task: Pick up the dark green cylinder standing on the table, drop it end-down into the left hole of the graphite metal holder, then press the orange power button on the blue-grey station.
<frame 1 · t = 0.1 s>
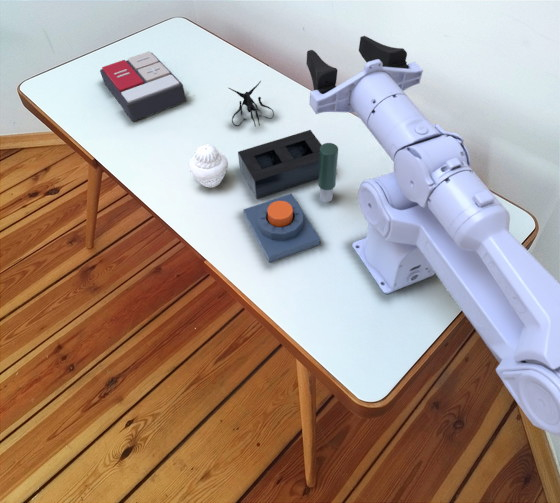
hand: (335, 49, 67), 22 cm above the table, tool horizontal, fingers open, 7 cm apart
station: (280, 229, 77), on the table
creature: (252, 117, 94), on the table
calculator: (144, 93, 99), on the table
green cylinder: (326, 198, 81), on the table
power button: (280, 213, 74), point 4 cm above the table, slide at 0.1 cm
white rounded ridged piece: (211, 181, 84), on the table
holder: (284, 172, 84), on the table
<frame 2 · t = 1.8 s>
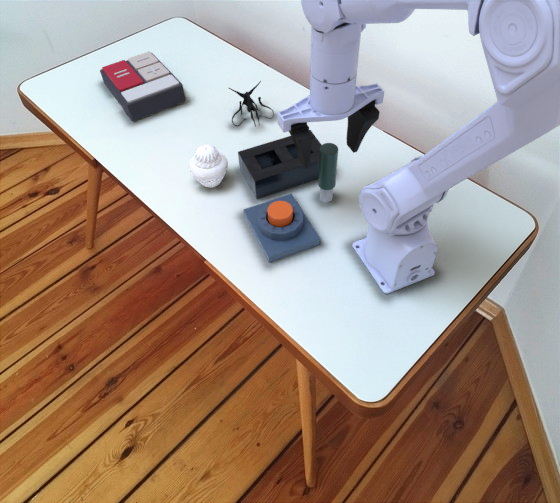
hand: (328, 155, 74), 9 cm above the table, tool pointing down, fingers open, 7 cm apart
nothing on the table moved.
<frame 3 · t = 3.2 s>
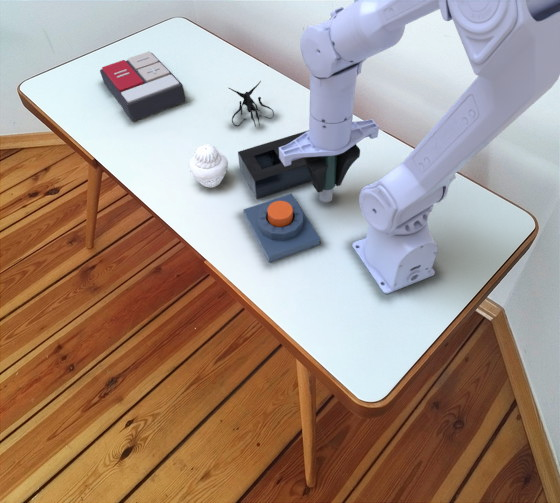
hand: (326, 184, 78), 3 cm above the table, tool pointing down, fingers closed on green cylinder, 2 cm apart
green cylinder: (325, 198, 81), on the table, touching gripper
everything else where it was.
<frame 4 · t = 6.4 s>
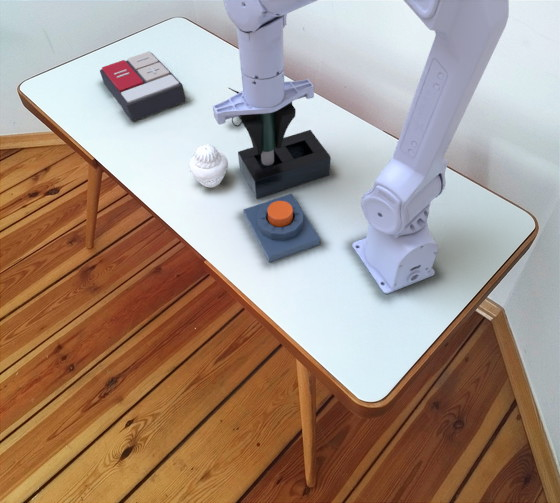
hand: (267, 147, 79), 6 cm above the table, tool pointing down, fingers closed on green cylinder, 2 cm apart
green cylinder: (267, 161, 81), point 4 cm above the table, touching gripper
everything else where it was.
when the fingers open (5 cm above the table, at t = 9.9 s): green cylinder drops 2 cm, resting in holder.
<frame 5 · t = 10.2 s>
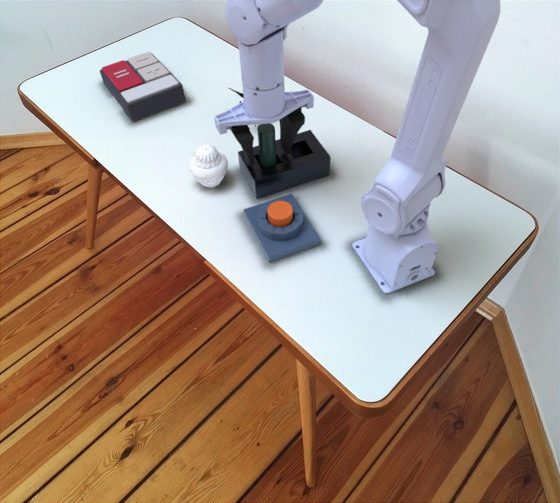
hand: (267, 155, 80), 5 cm above the table, tool pointing down, fingers open, 5 cm apart
green cylinder: (269, 177, 84), resting in holder
everything else where it was.
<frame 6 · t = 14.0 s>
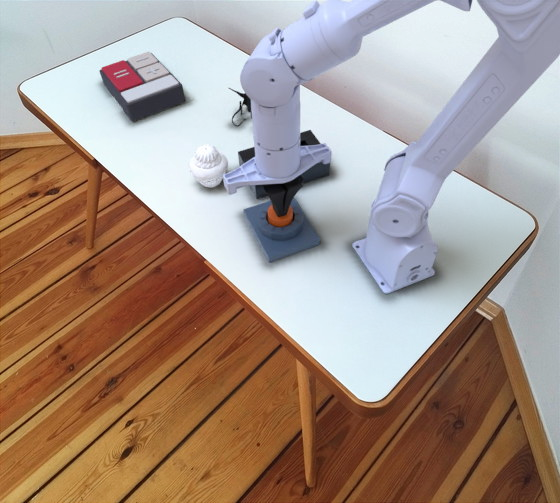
hand: (279, 211, 74), 4 cm above the table, tool pointing down, fingers closed, pressing on power button
power button: (280, 215, 74), point 3 cm above the table, slide at -0.2 cm, touching gripper
everything else where it was.
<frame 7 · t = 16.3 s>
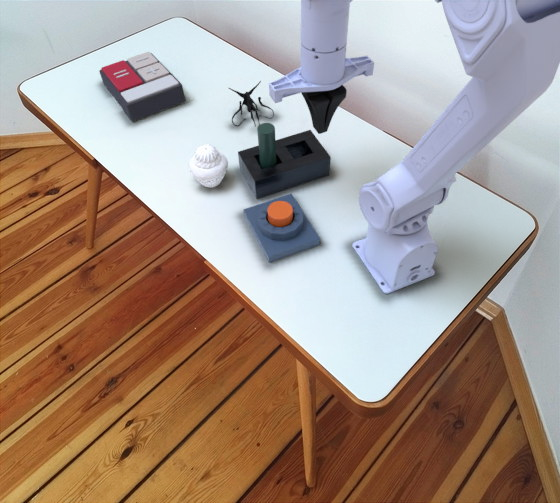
hand: (320, 128, 75), 10 cm above the table, tool pointing down, fingers closed
power button: (280, 213, 74), point 3 cm above the table, slide at 0.1 cm
everything else where it was.
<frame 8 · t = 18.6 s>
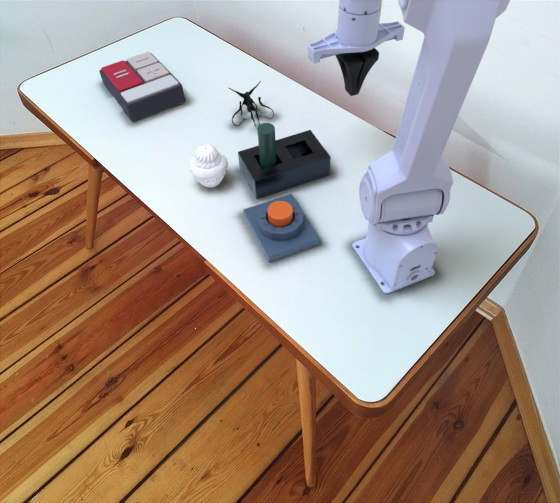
hand: (351, 91, 80), 10 cm above the table, tool pointing down, fingers closed
nothing on the table moved.
at the end: green cylinder 0.0 cm from the target spot in the holder, point 0.0 cm above the holder's base; power button pushed in 1.0 cm at the most during the clip, back to where it started at the end; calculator moved 0.2 cm from its start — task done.
